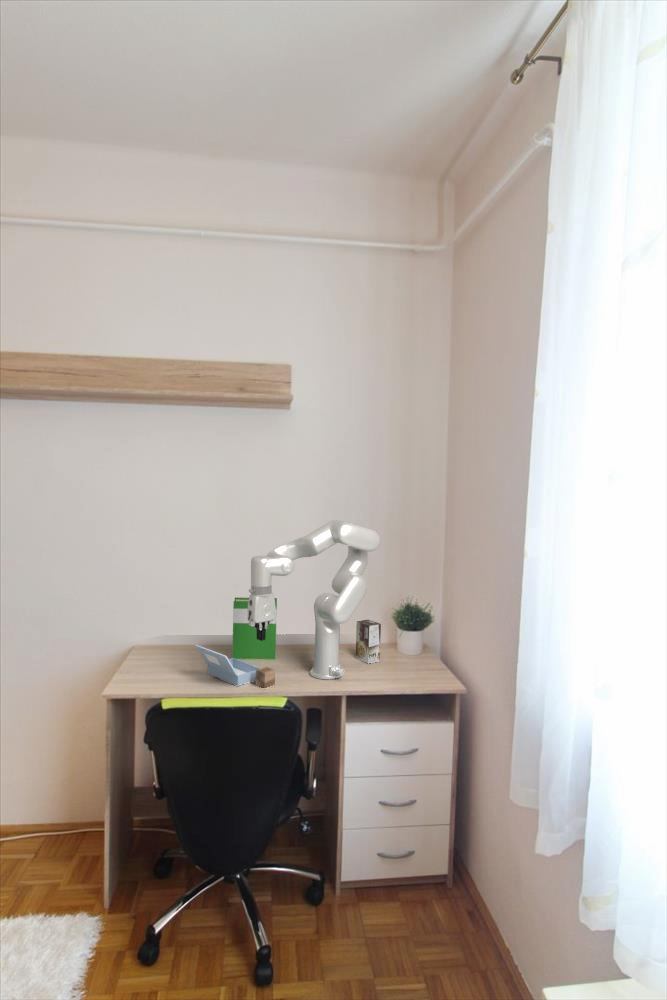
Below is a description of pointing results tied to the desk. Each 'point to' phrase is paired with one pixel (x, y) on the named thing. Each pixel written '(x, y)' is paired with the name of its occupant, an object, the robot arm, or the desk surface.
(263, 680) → the walnut block
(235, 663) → the mailer box
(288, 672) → the desk surface
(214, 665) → the lid
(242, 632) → the hardback book
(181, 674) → the desk surface
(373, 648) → the coffee box
